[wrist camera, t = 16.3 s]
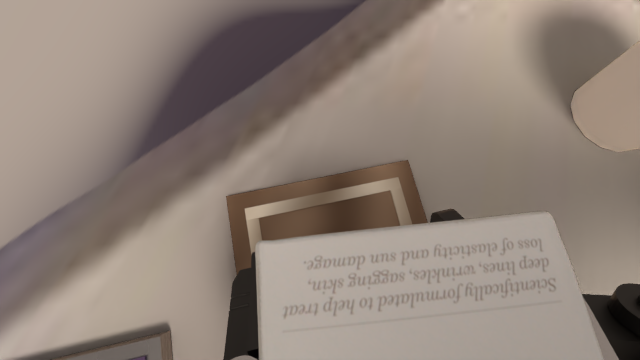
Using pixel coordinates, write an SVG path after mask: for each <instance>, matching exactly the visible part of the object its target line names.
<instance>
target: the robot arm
mask: <svg viewBox="0 0 640 360" xmlns="http://www.w3.org/2000/svg"><path fill="white" fill-rule="evenodd" d="M462 219H464V218H463V217H462V216H461V215H460V214H459V213H458V212H457V211H455V210H454V209H448V210H444V211H439V212H435V213H432V215H431V221H430V223H433V222H442V221H452V220H462ZM582 296H583V299H584V302H585V305H586V308H587V311H588V314H589V317H590V320H591V323H592V326H593V329H594V332H595V335H596V337H597V340H598V343H599V346H600V349H601V353H602V356H603V358H604V360H640V284H629V283H628V284H622V285H620V286H618V287H617V289H616V290H615V292H614V293H613V295H612V296H607V295H589V294H582ZM223 360H259V341H258V314H257V285H256V259H255V252H252V256H251V268H247V269H242V270H240V271H239V272H238V274H237V276H236V278H235V280H234V282H233V284H232V293H231V302H230V311H229V319H228V327H227V336H226V344H225V353H224V359H223Z"/></svg>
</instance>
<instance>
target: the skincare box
mask: <svg viewBox="0 0 640 360" xmlns="http://www.w3.org/2000/svg"><path fill="white" fill-rule="evenodd" d="M255 259H256V285H257V314H258V341H259V360H604V358H603V356H602V353H601V349H600V346H599V343H598V340H597V337H596V335H595V332H594V329H593V326H592V323H591V320H590V317H589V314H588V311H587V308H586V305H585V302H584V299H583V296H582V293H581V290H580V287H579V285H578V282H577V278H576V275H575V272H574V269H573V267H572V264H571V261H570V259H569V256H568V253H567V251H566V249H565V246H564V244H563V242H562V239H561V237H560V234H559V232H558V229H557V226H556V223H555V220H554V218H553V217H552V216H551V214H550V213H549V212H547V211H537V212H527V213H518V214H509V215H500V216H490V217H481V218H472V219H462V220H452V221H442V222H433V223H423V224H413V225H403V226H393V227H384V228H374V229H365V230H355V231H346V232H337V233H327V234H318V235H310V236H301V237H293V238H286V239H279V240H266V241H259V242H257V243H256V247H255Z"/></svg>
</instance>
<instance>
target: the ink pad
mask: <svg viewBox="0 0 640 360" xmlns="http://www.w3.org/2000/svg"><path fill="white" fill-rule="evenodd" d="M51 360H173V359H172V346H171V332H170V331H167V332H162V333H158V334H154V335H150V336H146V337H142V338H138V339H133V340H129V341H125V342H121V343H117V344H113V345H109V346H104V347H100V348H96V349H92V350H88V351H84V352H80V353H75V354H71V355H67V356H63V357H59V358H55V359H51Z"/></svg>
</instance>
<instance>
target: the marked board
mask: <svg viewBox="0 0 640 360" xmlns="http://www.w3.org/2000/svg"><path fill="white" fill-rule="evenodd" d="M226 198H227V206H228V213H229V221H230V228H231V235H232V243H233V250H234V258H235V265H236V272H237V274H238V272H239V271H240V270H242V269H247V268H251V256H252V252H255V247H256V243H257V242H259V241H266V240H279V239H286V238H293V237H301V236H310V235H318V234H327V233H337V232H346V231H355V230H365V229H374V228H384V227H393V226H403V225H413V224H423V223H428V222H427V219H426V216H425V213H424V210H423V206H422V203H421V200H420V197H419V194H418V191H417V187H416V184H415V181H414V178H413V175H412V171H411V168H410V165H409V162H408V160H406V161H401V162H396V163H391V164H386V165H381V166H376V167H371V168H366V169H361V170H356V171H351V172H346V173H341V174H336V175H331V176H326V177H321V178H316V179H311V180H306V181H301V182H296V183H291V184H286V185H281V186H276V187H271V188H266V189H261V190H256V191H251V192H246V193H241V194H236V195H231V196H226Z"/></svg>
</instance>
